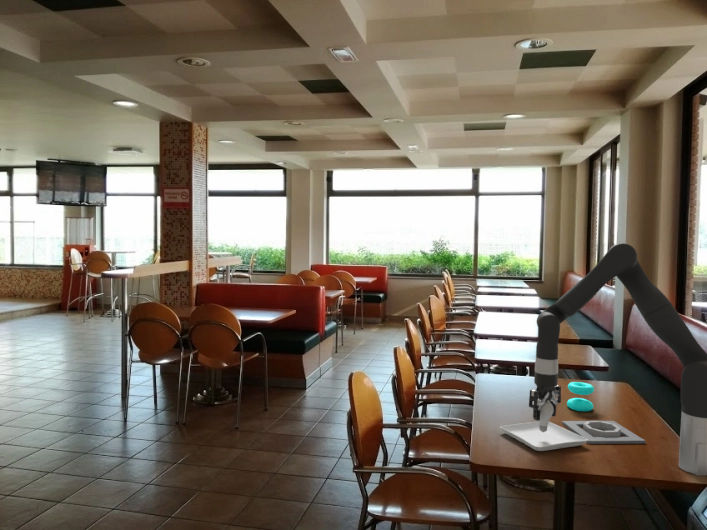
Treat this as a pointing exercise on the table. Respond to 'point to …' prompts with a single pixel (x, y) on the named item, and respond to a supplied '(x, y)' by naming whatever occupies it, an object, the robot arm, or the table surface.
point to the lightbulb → (545, 415)
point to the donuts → (580, 403)
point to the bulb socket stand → (603, 432)
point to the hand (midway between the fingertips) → (544, 417)
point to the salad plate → (543, 436)
